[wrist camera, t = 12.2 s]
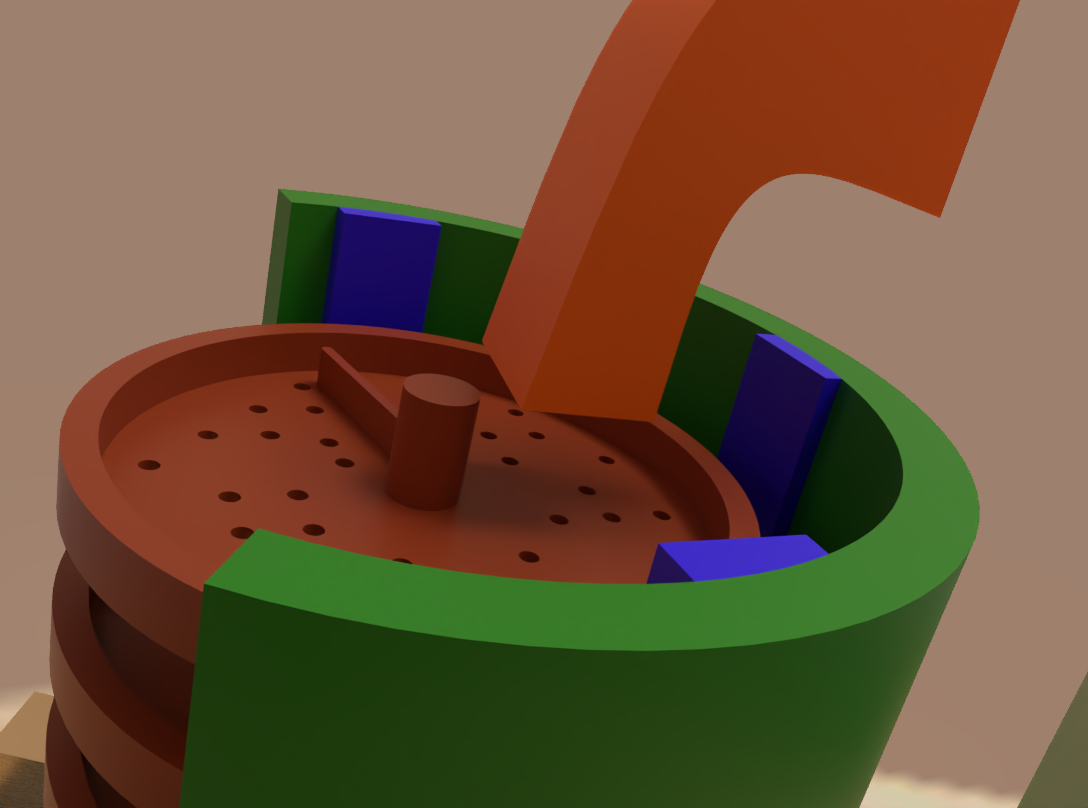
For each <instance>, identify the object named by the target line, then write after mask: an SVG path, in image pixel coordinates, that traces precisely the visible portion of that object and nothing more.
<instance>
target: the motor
mask: <svg viewBox="0 0 1088 808" xmlns="http://www.w3.org/2000/svg"><path fill="white" fill-rule="evenodd" d="M1019 1H1020V0H632V2H631V3H630V5H629V6H628V8H627V9H626V11H625V12H624V14H623V15H622V17H621V19H620V20H619V22H618V24H617V25H616V27H615V28H614V30H613V32H612V33H611V35H610V37H609V39H608V41H607V42H606V44H605V46H604V48H603V50H602V51H601V53H600V55H599V57H598V59H597V61H596V63H595V65H594V67H593V69H592V71H591V73H590V75H589V77H588V79H587V81H586V83H585V85H584V87H583V89H582V91H581V93H580V95H579V97H578V99H577V101H576V104H575V106H574V108H573V111H572V113H571V115H570V118H569V120H568V123H567V125H566V127H565V130H564V132H563V134H562V137H561V139H560V141H559V144H558V146H557V148H556V151H555V153H554V155H553V158H552V160H551V162H550V165H549V167H548V169H547V172H546V174H545V177H544V179H543V181H542V184H541V186H540V189H539V191H538V194H537V196H536V199H535V202H534V204H533V207H532V209H531V212H530V214H529V217H528V220H527V222H526V225H525V228H524V229H522V228H518V227H513V226H509V225H505V224H501V223H496V222H492V221H488V220H483V219H478V218H473V217H468V216H463V215H458V214H454V213H449V212H444V211H438V210H433V209H428V208H421V207H416V206H410V205H404V204H398V203H392V202H385V201H378V200H372V199H364V198H358V197H350V196H342V195H334V194H325V193H316V192H307V191H296V190H286V189H278V198H277V206H276V214H275V222H274V231H273V239H272V248H271V255H270V264H269V272H268V280H267V288H266V296H265V305H264V313H263V321H262V325H254V326H244V327H234V328H227V329H219V330H213V331H208V332H202V333H198V334H193V335H188V336H184V337H180V338H176V339H172V340H169V341H166V342H163V343H159V344H156V345H153V346H150V347H148V348H145V349H142V350H140V351H138V352H135V353H133V354H131V355H129V356H127V357H125V358H123V359H121V360H119V361H117V362H115V363H113V364H112V365H111V366H109V367H107V368H105V369H104V370H102V371H101V372H100V373H98V374H97V375H96V376H95V377H93V378H92V379H91V380H90V381H89V382H88V383H87V384H86V385H84V387H83V388H82V389H81V390H80V391H79V392H78V393H77V395H76V396H75V397H74V399H73V400H72V402H71V403H70V405H69V407H68V408H67V411H66V414H65V416H64V418H63V421H62V425H61V429H60V441H59V462H58V463H59V464H58V484H57V507H56V508H57V520H58V524H59V529H60V533H61V537H62V539H63V542H64V545H65V547H66V551H65V553H64V555H63V557H62V559H61V561H60V564H59V567H58V570H57V573H56V577H55V582H54V587H53V597H52V617H51V638H50V677H51V682H52V688H53V693H54V699H53V702H52V706H51V709H50V713H49V718H48V724H47V731H46V748H45V770H44V792H43V799H44V808H859V807H860V805H861V802H862V800H863V798H864V795H865V793H866V791H867V788H868V786H869V784H870V781H871V779H872V777H873V774H874V772H875V770H876V767H877V765H878V763H879V760H880V758H881V756H882V754H883V751H884V749H885V747H886V744H887V742H888V740H889V737H890V735H891V733H892V730H893V728H894V726H895V723H896V721H897V719H898V716H899V714H900V712H901V709H902V707H903V705H904V703H905V700H906V698H907V696H908V693H909V691H910V689H911V686H912V684H913V682H914V679H915V677H916V675H917V672H918V670H919V668H920V665H921V663H922V661H923V658H924V656H925V654H926V651H927V649H928V646H929V644H930V642H931V640H932V637H933V635H934V633H935V630H936V628H937V626H938V624H939V621H940V619H941V616H942V614H943V612H944V610H945V607H946V605H947V603H948V600H949V598H950V596H951V593H952V591H953V589H954V587H955V584H956V582H957V580H958V577H959V575H960V573H961V570H962V568H963V565H964V563H965V561H966V559H967V556H968V554H969V552H970V549H971V547H972V545H973V542H974V540H975V538H976V533H977V529H978V525H979V501H978V495H977V490H976V487H975V484H974V481H973V479H972V476H971V474H970V472H969V470H968V468H967V466H966V464H965V462H964V460H963V459H962V457H961V456H960V454H959V452H958V451H957V450H956V448H955V447H954V445H953V444H952V443H951V441H950V440H949V439H948V438H947V436H946V435H945V434H944V433H943V431H942V430H941V429H940V428H939V427H938V426H937V425H936V424H935V423H934V422H933V421H932V420H931V419H930V418H929V417H928V416H927V415H926V414H925V413H924V412H923V411H922V410H921V409H920V408H919V407H918V406H917V405H915V404H914V403H913V402H911V400H910V399H908V398H907V397H906V396H905V395H904V394H903V393H901V392H900V391H899V390H897V389H896V388H895V387H893V386H892V385H891V384H889V383H888V382H887V381H886V380H884V379H883V378H881V377H880V376H878V375H877V374H875V373H874V372H873V371H871V370H870V369H868V368H867V367H865V366H864V365H862V364H861V363H859V362H858V361H856V360H855V359H853V358H851V357H850V356H848V355H846V354H845V353H843V352H841V351H840V350H838V349H836V348H835V347H833V346H831V345H829V344H828V343H826V342H824V341H822V340H821V339H819V338H817V337H815V336H813V335H812V334H810V333H808V332H806V331H804V330H802V329H800V328H798V327H796V326H794V325H792V324H790V323H788V322H786V321H784V320H782V319H780V318H778V317H776V316H774V315H772V314H770V313H768V312H765V311H763V310H761V309H759V308H756V307H755V306H752V305H750V304H748V303H746V302H743V301H741V300H738V299H736V298H734V297H732V296H729V295H727V294H724V293H722V292H719V291H717V290H715V289H712V288H709V287H707V286H705V285H702V284H700V281H701V279H702V276H703V274H704V271H705V269H706V266H707V264H708V261H709V259H710V257H711V255H712V253H713V251H714V249H715V247H716V245H717V243H718V241H719V239H720V237H721V235H722V233H723V232H724V230H725V228H726V227H727V225H728V223H729V222H730V220H731V218H732V217H733V216H734V214H735V213H736V212H737V210H738V209H739V208H740V207H741V205H742V204H743V203H744V202H745V201H746V200H747V199H748V198H749V197H750V196H751V195H752V194H753V193H754V192H755V191H756V190H758V189H759V188H760V187H762V186H763V185H765V184H766V183H768V182H770V181H772V180H774V179H776V178H779V177H782V176H786V175H790V174H816V175H823V176H829V177H833V178H836V179H840V180H843V181H847V182H850V183H853V184H855V185H858V186H861V187H864V188H867V189H869V190H872V191H875V192H877V193H880V194H883V195H885V196H887V197H890V198H892V199H895V200H897V201H900V202H902V203H905V204H907V205H910V206H912V207H915V208H917V209H920V210H922V211H925V212H927V213H929V214H932V215H934V216H937V217H940V216H941V213H942V211H943V208H944V205H945V203H946V200H947V197H948V194H949V192H950V189H951V186H952V184H953V181H954V178H955V175H956V173H957V170H958V167H959V165H960V162H961V159H962V156H963V154H964V151H965V148H966V145H967V143H968V140H969V137H970V135H971V132H972V129H973V126H974V124H975V121H976V118H977V116H978V113H979V110H980V107H981V105H982V102H983V99H984V96H985V94H986V91H987V88H988V86H989V83H990V80H991V77H992V74H993V72H994V69H995V66H996V64H997V61H998V58H999V55H1000V53H1001V50H1002V47H1003V45H1004V42H1005V39H1006V37H1007V34H1008V31H1009V28H1010V26H1011V23H1012V20H1013V17H1014V15H1015V12H1016V9H1017V6H1018V4H1019Z"/></svg>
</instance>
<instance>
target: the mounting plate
mask: <svg viewBox="0 0 1088 808" xmlns="http://www.w3.org/2000/svg"><path fill="white" fill-rule="evenodd" d="M53 699H54V696H51V695H47V694H42V693H38V692H34V693H33V694H32V696H31V697H30V698H29V699H28V700H27V702H26V703H25V704H24V705H23V706H22V708H21V709H20V710H19V711H18V712H17V713H16V715H15V716H14V717H13V718H12V719H11V721H10V722H9V723H8V724H7V725H6V727H5V728H4V729H3V730H2V731H1V733H0V808H44V799H43V792H44V770H45V748H46V731H47V724H48V718H49V713H50V709H51V706H52V702H53Z"/></svg>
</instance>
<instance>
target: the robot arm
mask: <svg viewBox="0 0 1088 808" xmlns="http://www.w3.org/2000/svg"><path fill="white" fill-rule="evenodd" d="M1017 808H1088V672H1087V674H1086V676H1085V678H1084V680H1083V682H1082V684H1081V686H1080V688H1079V690H1078V692H1077V694H1076V695H1075V697H1074V699H1073V701H1072V703H1071V705H1070V707H1069V709H1068V711H1067V713H1066V715H1065V717H1064V719H1063V721H1062V722H1061V724H1060V726H1059V728H1058V730H1057V732H1056V734H1055V736H1054V738H1053V740H1052V742H1051V744H1050V746H1049V748H1048V750H1047V751H1046V754H1045V756H1044V757H1043V759H1042V761H1041V763H1040V765H1039V767H1038V769H1037V771H1036V773H1035V775H1034V777H1033V778H1032V780H1031V782H1030V784H1029V786H1028V788H1027V790H1026V792H1025V794H1024V796H1023V798H1022V800H1021V802H1020V804H1019V806H1018V807H1017Z"/></svg>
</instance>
